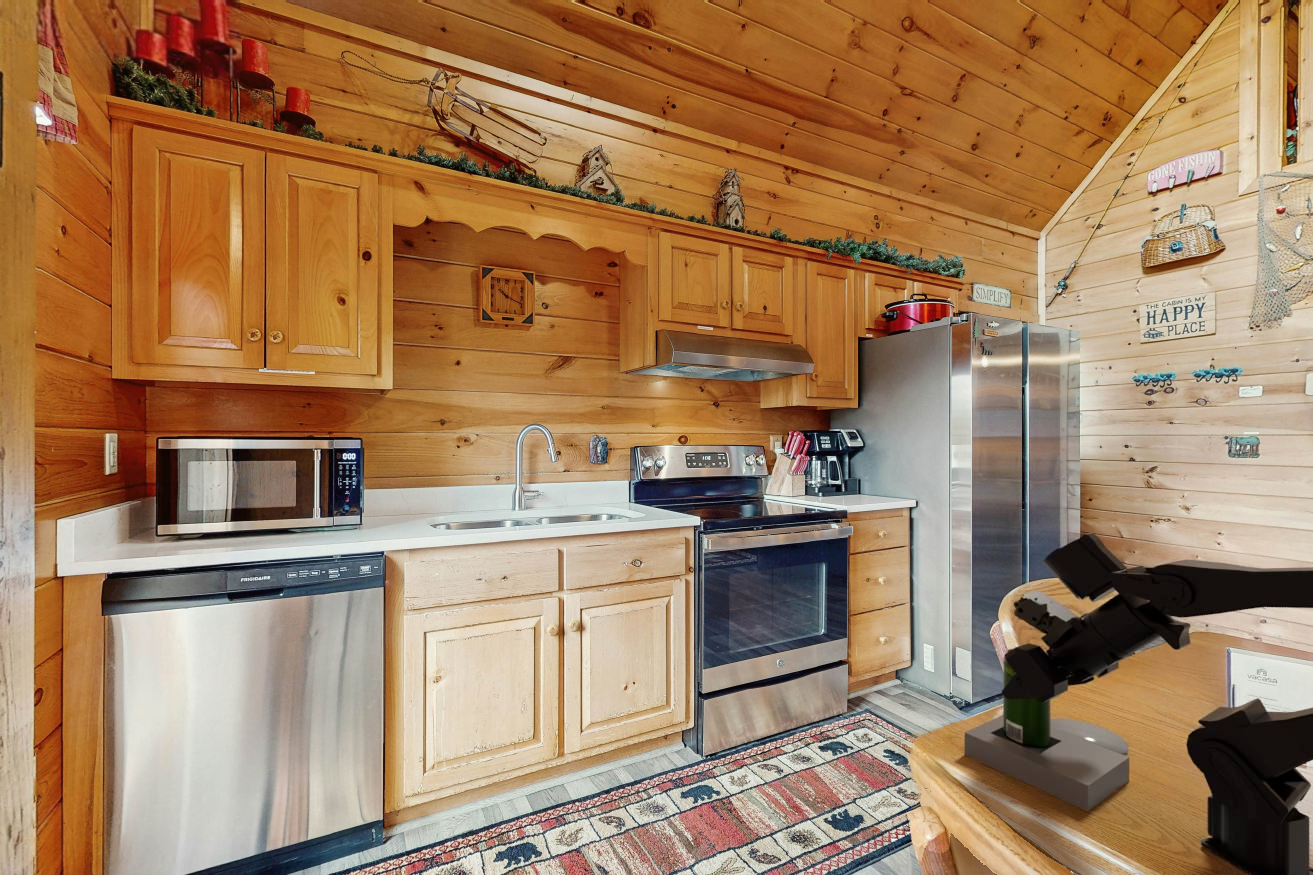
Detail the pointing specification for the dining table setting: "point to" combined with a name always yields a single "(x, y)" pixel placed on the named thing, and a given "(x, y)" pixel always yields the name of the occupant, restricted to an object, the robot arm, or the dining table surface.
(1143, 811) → the dining table surface
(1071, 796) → the can dock
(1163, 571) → the robot arm
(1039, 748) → the beer can
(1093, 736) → the coaster
